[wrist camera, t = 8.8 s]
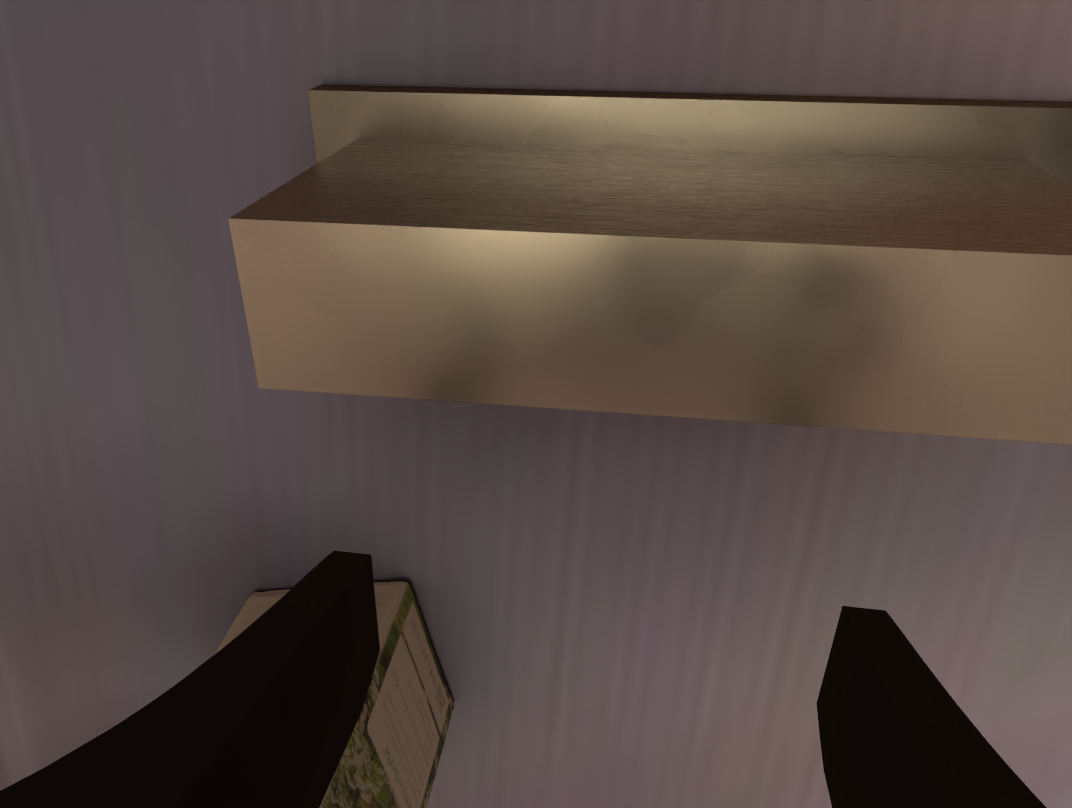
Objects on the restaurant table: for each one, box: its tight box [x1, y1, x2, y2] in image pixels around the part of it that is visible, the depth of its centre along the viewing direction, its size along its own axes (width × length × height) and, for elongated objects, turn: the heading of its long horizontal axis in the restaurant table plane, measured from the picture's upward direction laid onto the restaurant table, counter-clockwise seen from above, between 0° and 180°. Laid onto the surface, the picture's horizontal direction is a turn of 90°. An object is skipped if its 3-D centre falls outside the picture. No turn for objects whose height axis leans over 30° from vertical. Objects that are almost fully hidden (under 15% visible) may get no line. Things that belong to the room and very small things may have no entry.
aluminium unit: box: [228, 85, 1072, 444], centre depth 16 cm, size 16×5×7 cm, turn 90°
